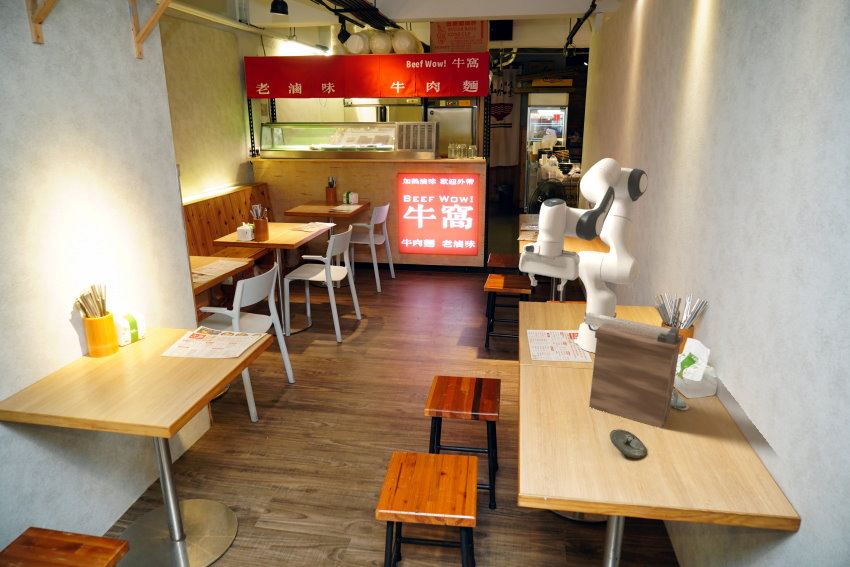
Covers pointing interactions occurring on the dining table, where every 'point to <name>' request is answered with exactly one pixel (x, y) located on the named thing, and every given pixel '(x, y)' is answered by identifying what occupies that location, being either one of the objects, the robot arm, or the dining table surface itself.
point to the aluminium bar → (626, 325)
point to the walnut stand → (635, 374)
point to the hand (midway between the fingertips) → (546, 287)
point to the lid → (627, 443)
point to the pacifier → (678, 401)
